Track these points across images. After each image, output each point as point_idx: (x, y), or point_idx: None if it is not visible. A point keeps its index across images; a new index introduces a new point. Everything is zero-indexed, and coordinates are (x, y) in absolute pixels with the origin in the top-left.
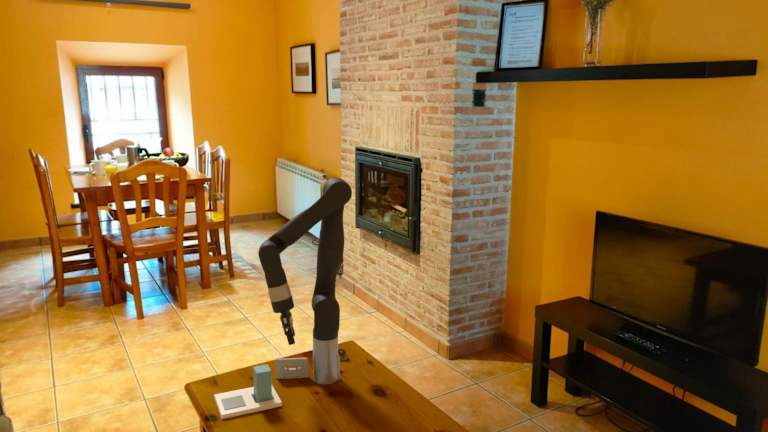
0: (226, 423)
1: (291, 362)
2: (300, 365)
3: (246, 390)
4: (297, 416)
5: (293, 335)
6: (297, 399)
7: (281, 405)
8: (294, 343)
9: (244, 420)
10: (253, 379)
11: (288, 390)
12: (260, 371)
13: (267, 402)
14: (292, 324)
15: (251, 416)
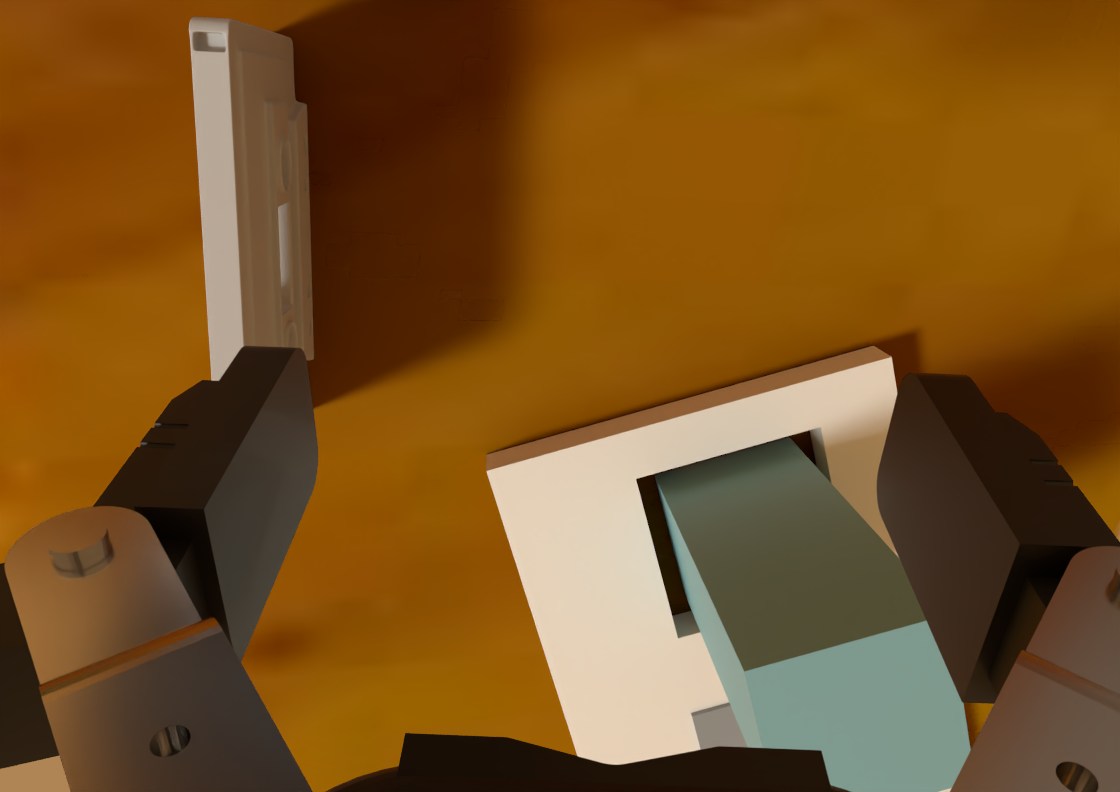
0: None
1: (258, 278)
2: (271, 143)
3: (601, 683)
4: (1092, 197)
5: (304, 385)
6: (782, 188)
7: (875, 350)
8: (956, 379)
9: None
10: (735, 716)
11: (580, 280)
12: (939, 741)
13: (864, 489)
14: (1022, 714)
15: None
